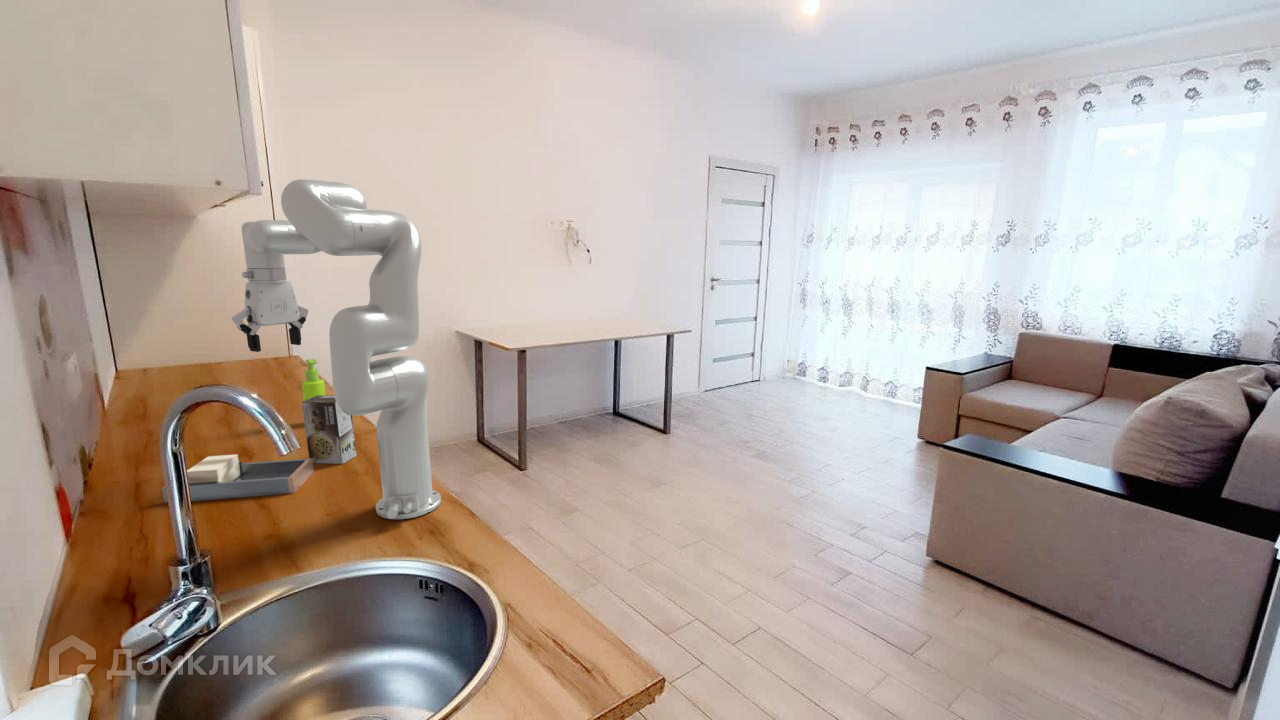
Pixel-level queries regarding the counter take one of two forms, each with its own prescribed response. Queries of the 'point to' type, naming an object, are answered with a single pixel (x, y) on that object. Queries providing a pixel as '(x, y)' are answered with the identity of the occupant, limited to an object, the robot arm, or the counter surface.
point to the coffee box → (328, 431)
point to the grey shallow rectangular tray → (256, 480)
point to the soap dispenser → (312, 382)
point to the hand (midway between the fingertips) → (276, 347)
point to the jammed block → (215, 469)
